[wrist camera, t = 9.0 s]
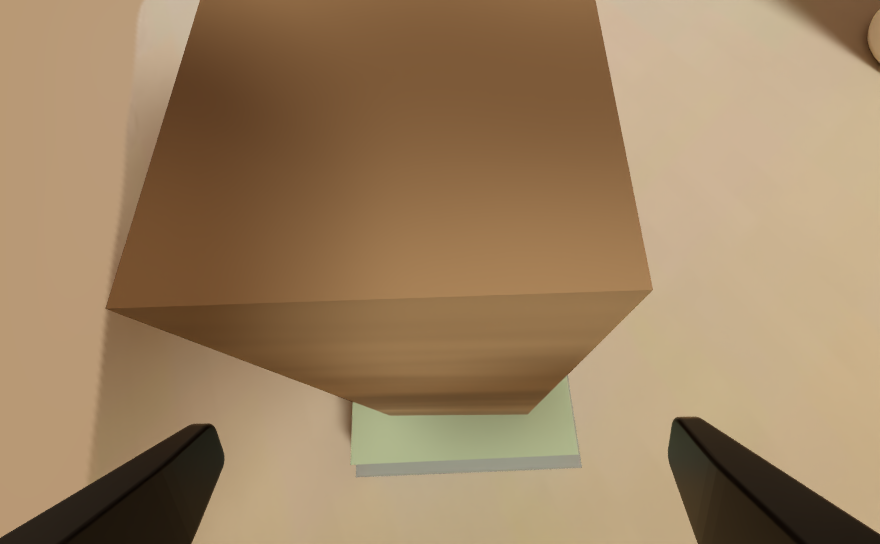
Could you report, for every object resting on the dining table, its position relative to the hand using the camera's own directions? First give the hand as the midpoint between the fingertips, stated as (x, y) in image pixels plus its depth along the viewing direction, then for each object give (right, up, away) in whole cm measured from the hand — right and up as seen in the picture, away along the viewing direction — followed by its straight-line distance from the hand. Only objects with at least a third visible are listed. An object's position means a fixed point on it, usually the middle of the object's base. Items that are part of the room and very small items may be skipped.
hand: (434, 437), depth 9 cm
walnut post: (+1, 0, +8) cm, 8 cm away
